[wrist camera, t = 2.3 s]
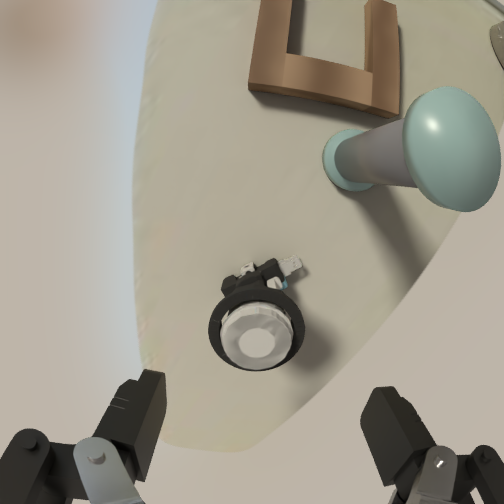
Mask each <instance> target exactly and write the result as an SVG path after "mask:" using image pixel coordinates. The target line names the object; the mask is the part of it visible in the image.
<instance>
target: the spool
mask: <svg viewBox="0 0 504 504" xmlns="http://www.w3.org/2000/svg"><path fill="white" fill-rule="evenodd" d="M322 160H323V167H324V170H325V172H326V174H327V176H328V178H329V179H330V180H331V181H332V182H333V183H334V184H335V185H337V186H338V187H340V188H342V189H345V190H349V191H363V190H366V189H369V188H370V187H372V186H373V185H374V184H382V185H394V186H404V187H414V188H418V189H419V190H420V191H421V192H422V194H423V195H424V196H425V197H426V198H427V199H429V200H430V201H431V202H432V203H434V204H436V205H438V206H440V207H443V208H447V209H452V210H456V211H461V212H471V211H475V210H477V209H479V208H481V207H482V206H484V205H485V204H486V203H487V202H488V200H489V199H490V198H491V197H492V195H493V193H494V191H495V189H496V186H497V183H498V180H499V176H500V169H501V153H500V145H499V141H498V137H497V133H496V130H495V128H494V125H493V123H492V121H491V119H490V117H489V115H488V114H487V112H486V111H485V109H484V108H483V107H482V106H481V104H480V103H479V102H478V101H477V100H476V99H475V98H474V97H472V96H471V95H470V94H468V93H467V92H465V91H463V90H461V89H459V88H455V87H449V86H446V87H440V88H437V89H434V90H432V91H429V92H427V93H425V94H423V95H421V96H419V97H418V98H417V99H415V100H414V102H413V103H412V104H411V105H410V107H409V109H408V110H407V113H406V116H405V118H403V119H400V120H397V121H394V122H391V123H388V124H385V125H383V126H380V127H377V128H374V129H372V130H369V131H366V132H363V131H361V130H356V129H348V130H344V131H341V132H339V133H337V134H335V135H334V136H333V137H331V138H330V139H329V140H328V142H327V143H326V145H325V147H324V150H323V157H322Z"/></svg>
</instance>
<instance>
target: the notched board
mask: <svg viewBox="0 0 504 504" xmlns="http://www.w3.org/2000/svg"><path fill="white" fill-rule="evenodd" d="M291 7H292V0H261V4H260V10H259V16H258V22H257V28H256V34H255V40H254V46H253V53H252V59H251V66H250V73H249V79H248V90H252V91H261V92H269V93H276V94H283V95H289V96H295V97H301V98H306V99H312V100H317V101H322V102H326V103H331V104H336V105H340V106H344V107H348V108H352V109H356V110H360V111H364V112H367V113H371V114H375V115H378V116H381V117H385V118H391V117H393V116H396V115H399V88H400V63H399V36H398V22H397V10H396V5H394V4H391V3H389V2H386V1H383V0H368V2H367V3H366V4H365V6H364V7H365V68H364V70H360V69H357V68H353V67H349V66H346V65H342V64H338V63H333V62H329V61H325V60H320V59H315V58H310V57H305V56H300V55H294V54H288V53H286V50H287V42H288V33H289V25H290V16H291Z"/></svg>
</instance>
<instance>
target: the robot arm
mask: <svg viewBox="0 0 504 504" xmlns="http://www.w3.org/2000/svg"><path fill="white" fill-rule="evenodd" d="M490 37H491V41H492V45H493V48H494V50H495V53H496V55H497V57H498V59H499V61H500V62H501V64H502V66H503V67H504V21H502V22H500V23H498V24H496V25H494V26H492V27H491V29H490ZM166 407H167V398H166V380H165V373H163V372H158V371H153V370H148V369H144V370H143V372H142V374H141V376H140V378H139V380H138V381H136V380H131V379H129V380H127V381H126V382H125V383H123V384H122V385H121V386H119V388H118V390H117V392H116V394H115V396H114V398H113V399H112V401H111V403H110V406H108V408H107V410H106V412H105V414H104V416H103V417H102V419H101V421H100V423H99V425H98V427H97V429H96V430H95V433H94V434H93V436H92V437H90V438H85V439H83V440H81V441H80V442H78V443H77V444H74V445H72V444H62V443H55V442H49V440H48V438H47V437H46V436H45V435H44V434H43V433H42V432H40V431H38V430H36V429H23V430H21V431H19V432H18V433H17V434H15V436H14V437H13V439H12V440H11V442H10V444H9V445H8V447H7V448H6V450H5V452H4V453H3V455H2V457H1V459H0V504H72V501H73V498H74V499H83V500H89V501H90V503H91V504H145V503H144V502H143V500H142V499H141V497H140V495H139V493H138V492H137V490H136V488H135V486H134V484H135V480H138V481H142V482H145V479H146V476H147V473H148V469H149V466H150V463H151V459H152V456H153V453H154V449H155V446H156V443H157V439H158V436H159V433H160V430H161V427H162V424H163V421H164V417H165V414H166ZM360 422H361V423H360V424H361V428H362V431H363V433H364V436H365V438H366V441H367V443H368V446H369V448H370V451H371V453H372V456H373V458H374V461H375V464H376V466H377V469H378V472H379V474H380V477H381V480H382V482H383V485H384V486H389V485H394V484H395V485H396V489H395V490H394V492H393V494H392V496H391V498H390V501H389V503H388V504H475V503H474V501H473V498H472V496H471V494H470V492H471V491H472V490H473V489H474V488H475V487H476V488H477V489H478V492H479V494H480V496H481V498H482V500H483V502H484V504H504V463H503V462H502V460H501V458H500V457H499V455H498V454H497V452H496V451H495V450H494V449H493V448H492V447H490V446H487V445H480V446H478V447H476V449H475V450H474V451H473V452H472V453H471V454H470V455H456V454H455V453H454V451H452V450H451V449H450V448H448V447H445V446H437V445H436V443H435V441H434V440H433V438H432V436H431V435H430V433H429V431H428V430H427V428H426V427H425V425H424V423H423V422H421V418H420V417H419V415H417V412H416V410H415V409H414V407H413V406H412V404H411V403H409V402H408V401H407V400H406V399H405V398H403V397H400V395H399V394H398V392H397V390H396V389H395V388H394V387H392V386H389V387H376V388H375V389H374V390H373V391H372V393H371V395H370V398H369V400H368V402H367V404H366V406H365V408H364V410H363V412H362V415H361V419H360Z"/></svg>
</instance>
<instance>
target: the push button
mask: <svg viewBox="0 0 504 504" xmlns="http://www.w3.org/2000/svg"><path fill="white" fill-rule="evenodd" d="M292 259H294V260H292ZM291 260H292V261H291ZM294 262H295V263H294ZM293 263H294V264H293ZM296 265H297V266H296ZM247 266H248V267H247ZM294 266H296V267H294ZM245 267H246V268H245ZM300 267H302V264H301V262H300V260H299V258H298V256H297V255H294V256H292V257H290V258H288V259H286V260H284V259H282V260H280V261H278V262H277V260H276V259H275V258H273V259H270V260H268V261H267V262H265V264H263V265H261V266H259V267H257V268H255V269H254V267H253V262H251V263H249V264H247V265H245V266H243V267H241V276H239V277H237V278H235V276H234V275H231V276H229V277H227V278H225V279H224V280H223V283H222V287H221V291H222V293H223V294H224V296H225V298H223V299H222V300H221V301H220V302H219V303H218V305H217V306H216V307H215V309H214V311H213V313H212V315H211V318H210V322H209V327H208V334H209V339H210V343H211V345H212V347H213V349H214V351H215V352H216V353H217V355H218V356H219V357H220V358H221V359H222V360H224V361H225V362H226V363H228V364H230V365H232V366H234V367H236V368H239V369H242V370H247V371H266V370H270V369H274V368H276V367H279V366H281V365H283V364H284V363H286V362H287V361H289V360H290V359H291V358H292V357H293V356H294V355H295V354H296V353H297V352H298V350H299V348H300V347H301V345H302V342H303V339H304V335H305V325H304V320H303V317H302V314H301V312H300V310H299V308H298V306H297V305H296V304H295V303H294V302H293V301H292V300H291V299H290V298H289V297H288V296H286V295H285V294H284V293H283V292H282V291H281V290H283V289H285V288H287V287H288V284H287V281H286V278H285V277H286V276H288V275H290V274H291V273H290V272H292V271H294V270H296V269H298V268H300ZM228 310H229V312H228V316H227V318H226V319H225V321H224V322H223V325H222V322H221V320H222V318H223V316H224V315H225V314H226V312H227V311H228ZM285 311H286V312H287V313H288V314H289V315H290V317H291V323H290V321H289V319H288V318H287V317H286V315H285Z"/></svg>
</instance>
